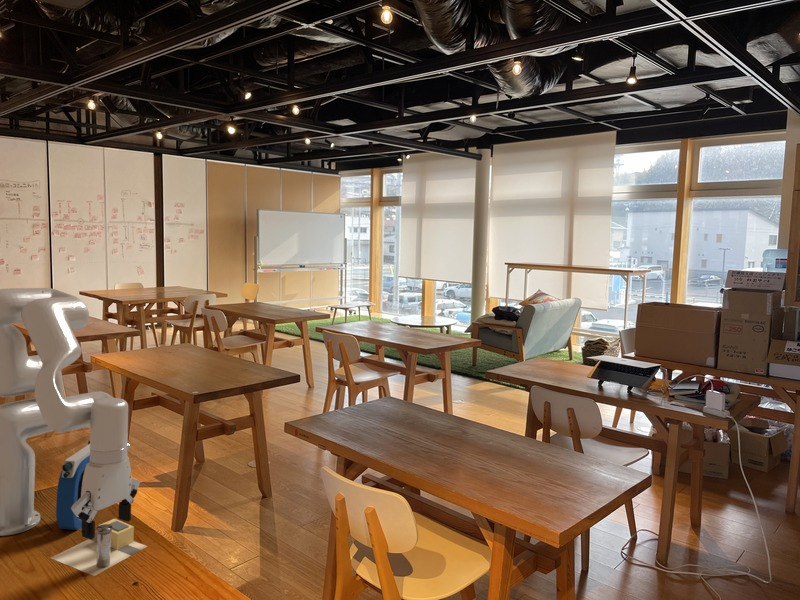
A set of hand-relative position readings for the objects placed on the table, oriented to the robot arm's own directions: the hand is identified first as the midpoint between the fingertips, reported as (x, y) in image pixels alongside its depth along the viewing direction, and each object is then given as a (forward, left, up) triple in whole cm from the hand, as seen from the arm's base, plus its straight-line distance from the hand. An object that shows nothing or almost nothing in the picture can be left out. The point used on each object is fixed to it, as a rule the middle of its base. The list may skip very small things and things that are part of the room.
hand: (106, 528), depth 133 cm
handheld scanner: (-23, +12, -10) cm, 27 cm away
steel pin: (-1, 0, -9) cm, 9 cm away
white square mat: (-6, +4, -10) cm, 12 cm away
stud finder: (-7, +9, -9) cm, 14 cm away
